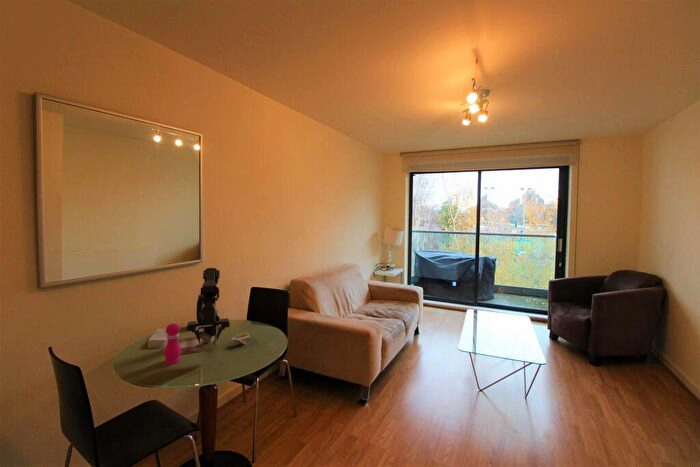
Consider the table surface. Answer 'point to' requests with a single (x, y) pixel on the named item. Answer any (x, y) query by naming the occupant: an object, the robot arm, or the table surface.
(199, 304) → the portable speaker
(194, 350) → the plinth
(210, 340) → the eagle figurine
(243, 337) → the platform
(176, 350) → the pepper mill
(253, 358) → the table surface
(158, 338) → the brick
